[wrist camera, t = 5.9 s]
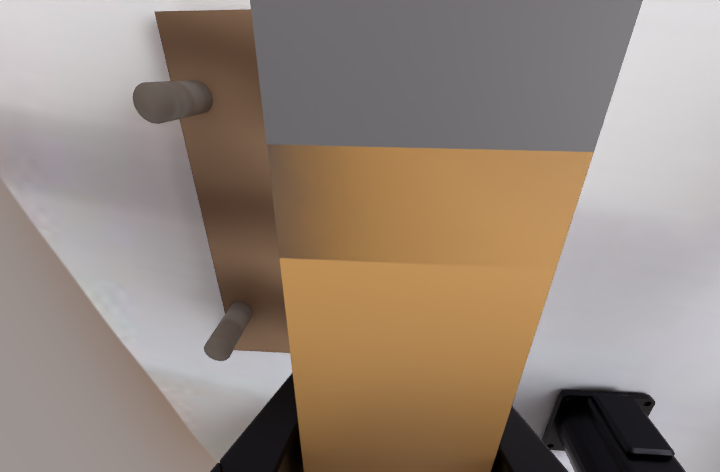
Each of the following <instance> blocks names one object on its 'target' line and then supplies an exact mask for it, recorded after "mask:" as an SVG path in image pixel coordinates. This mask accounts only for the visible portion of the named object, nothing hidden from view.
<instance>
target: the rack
mask: <svg viewBox="0 0 720 472" xmlns="http://www.w3.org/2000/svg"><path fill="white" fill-rule="evenodd" d="M155 16H156V20H157V24H158V29H159V33H160V37H161V41H162V46H163V50H164V54H165V58H166V63H167V67H168V71H169V76H170V80H171V81H167V82H146V83H141V84H139V85H138V86H137V87H136V88H135V90H134V93H133V102H134V105H135V108H136V110H137V111H138V113H139V114H140V115H141V116H142V117H143V118H144V119H145V120H147V121H149V122H151V123H157V124H158V123H164V122H168V121H172V120H177V119H180V123H181V127H182V131H183V135H184V140H185V144H186V148H187V152H188V157H189V161H190V165H191V170H192V174H193V178H194V182H195V187H196V191H197V195H198V200H199V204H200V208H201V212H202V217H203V221H204V225H205V229H206V234H207V238H208V242H209V247H210V251H211V255H212V259H213V264H214V268H215V272H216V276H217V281H218V285H219V289H220V294H221V298H222V302H223V306H224V311H225V316H224V317H223V319H222V320H221V322H220V323H219V325H218V326H217V328H216V329H215V331H214V332H213V334H212V335H211V337H210V338H209V340H208V341H207V343H206V344H205V346H204V351H205V353H206V354H207V355H208V356H209V357H210V358H212V359H214V360H218V361H224V360H227V359H228V358H229V357H230V355H231V353H232V351H233V350H242V351H262V352H283V353H290V346H289V337H288V328H287V319H286V310H285V302H284V293H283V284H282V275H281V267H280V258H279V249H278V240H277V232H276V223H275V214H274V205H273V197H272V188H271V179H270V170H269V162H268V153H267V144H266V135H265V127H264V118H263V109H262V100H261V91H260V83H259V74H258V65H257V56H256V48H255V39H254V30H253V21H252V13H251V10H208V11H162V12H155Z"/></svg>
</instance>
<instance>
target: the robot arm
mask: <svg viewBox="0 0 720 472" xmlns="http://www.w3.org/2000/svg"><path fill="white" fill-rule="evenodd" d="M654 405H655V401H654V399H653V398H652V397H651V396H650V395H647V394H630V393H611V392H592V391H573V390H565V391H562V392H561V393H560V394H559V397H558V399H557V402H556V405H555V407H554V410H553V413H552V415H551V418H550V421H549V424H548V426H547V429H546V432H545V434H544V437H543V440H541V439H540V438H539V437H538V436H537V434H536V433H535V432H534V431H533V430H532V429H531V427H530V426H529V425H528V424H527V423H526V422H525V420H524V419H523V418H522V417H521V416H520V415H519V413H518V412H517V411H516V410H515V409H514V408H513V406H512V407H511V410H510V413H509V416H508V419H507V422H506V425H505V429H504V432H503V435H502V438H501V441H500V444H499V447H498V450H497V453H496V456H495V460H494V463H493V466H492V469H491V472H568V470H567V469H566V468H565V467H564V466H563V465H562V463H561V462H560V461H559V460H558V459H557V458H556V456H555V455H554V454H553V453H552V452H551V451H550V450H562V451H565V452H566V454H567V456H568V458H569V460H570V463H571V465H572V467H573V469H574V471H575V472H686V471H685V470H684V469H683V467H682V466H681V465H680V463H679V462H678V461H677V459H676V458H675V457H674V454H675V453H674V451H673V449H672V448H671V447H670V445H669V444H668V443H667V442H666V440H665V439H664V438H663V436H662V435H661V434H660V432H659V431H658V430H657V428H656V427H655V426H654V424H653V423H652V422H651V420H650V419H649V418H648V416H649V414H650V412H651V410H652V408H653V407H654ZM210 472H304V468H303V459H302V451H301V442H300V433H299V424H298V416H297V407H296V398H295V389H294V381H293V373H292V374H291V375H290V376H289V378H288V379H287V380H286V381H285V382H284V384H283V385H282V386H281V387H280V388H279V390H278V391H277V392H276V393H275V395H274V396H273V397H272V398H271V399H270V401H269V402H268V403H267V404H266V405H265V407H264V408H263V409H262V410H261V411H260V413H259V414H258V415H257V416H256V417H255V419H254V420H253V421H252V422H251V423H250V425H249V426H248V427H247V428H246V429H245V431H244V432H243V433H242V434H241V436H240V437H239V438H238V439H237V440H236V442H235V443H234V444H233V445H232V446H231V448H230V449H229V450H228V451H227V452H226V454H225V455H224V456H223V457H222V458H221V460H220V463H217V464H216V466H215V467H214V468H213V469H212V470H211V471H210Z"/></svg>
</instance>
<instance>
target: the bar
mask: <svg viewBox="0 0 720 472" xmlns="http://www.w3.org/2000/svg"><path fill="white" fill-rule="evenodd" d="M642 1H643V0H250V4H251V13H252V21H253V30H254V39H255V48H256V56H257V65H258V74H259V83H260V91H261V100H262V109H263V118H264V127H265V135H266V144H267V153H268V162H269V170H270V179H271V188H272V197H273V205H274V214H275V223H276V232H277V240H278V249H279V258H280V267H281V275H282V284H283V293H284V302H285V310H286V319H287V328H288V337H289V346H290V354H291V363H292V372H293V381H294V389H295V398H296V407H297V416H298V424H299V433H300V442H301V451H302V459H303V468H304V472H491V469H492V466H493V463H494V460H495V456H496V453H497V450H498V447H499V444H500V441H501V438H502V435H503V432H504V429H505V425H506V422H507V419H508V416H509V413H510V410H511V407H512V404H513V401H514V398H515V394H516V391H517V388H518V385H519V382H520V379H521V376H522V373H523V370H524V367H525V363H526V360H527V357H528V354H529V351H530V348H531V345H532V342H533V339H534V336H535V332H536V329H537V326H538V323H539V320H540V317H541V314H542V311H543V308H544V305H545V301H546V298H547V295H548V292H549V289H550V286H551V283H552V280H553V277H554V274H555V270H556V267H557V264H558V261H559V258H560V255H561V252H562V249H563V246H564V243H565V239H566V236H567V233H568V230H569V227H570V224H571V221H572V218H573V215H574V212H575V208H576V205H577V202H578V199H579V196H580V193H581V190H582V187H583V184H584V181H585V177H586V174H587V171H588V168H589V165H590V162H591V159H592V156H593V153H594V150H595V146H596V143H597V140H598V137H599V134H600V131H601V128H602V125H603V122H604V119H605V115H606V112H607V109H608V106H609V103H610V100H611V97H612V94H613V91H614V87H615V84H616V81H617V78H618V75H619V72H620V69H621V66H622V63H623V60H624V56H625V53H626V50H627V47H628V44H629V41H630V38H631V35H632V32H633V29H634V25H635V22H636V19H637V16H638V13H639V10H640V7H641V4H642Z"/></svg>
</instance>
